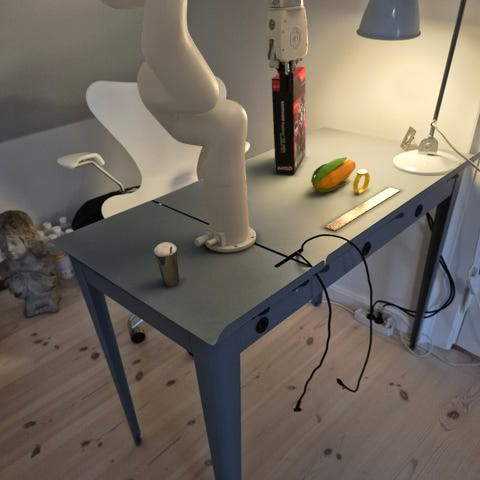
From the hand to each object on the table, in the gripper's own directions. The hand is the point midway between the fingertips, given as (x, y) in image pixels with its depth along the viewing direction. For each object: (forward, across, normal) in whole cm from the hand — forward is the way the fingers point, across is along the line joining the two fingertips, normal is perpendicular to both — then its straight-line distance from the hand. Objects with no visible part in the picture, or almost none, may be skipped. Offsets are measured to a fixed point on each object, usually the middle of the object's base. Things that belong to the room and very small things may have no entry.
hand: (286, 91), depth 111 cm
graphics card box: (+27, +19, +15) cm, 36 cm away
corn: (+27, +14, -6) cm, 31 cm away
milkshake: (+27, -49, -10) cm, 57 cm away
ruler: (+27, +6, -22) cm, 35 cm away
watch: (+27, +14, -15) cm, 34 cm away
